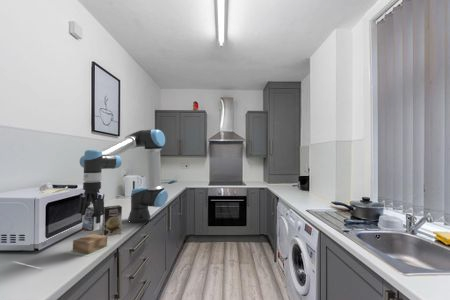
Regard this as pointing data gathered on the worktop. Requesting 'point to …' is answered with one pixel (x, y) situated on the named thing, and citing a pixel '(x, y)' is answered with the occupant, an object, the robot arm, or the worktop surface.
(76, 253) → the build pad
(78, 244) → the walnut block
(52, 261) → the worktop surface
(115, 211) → the coffee box
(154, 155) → the robot arm
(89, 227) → the beverage can
